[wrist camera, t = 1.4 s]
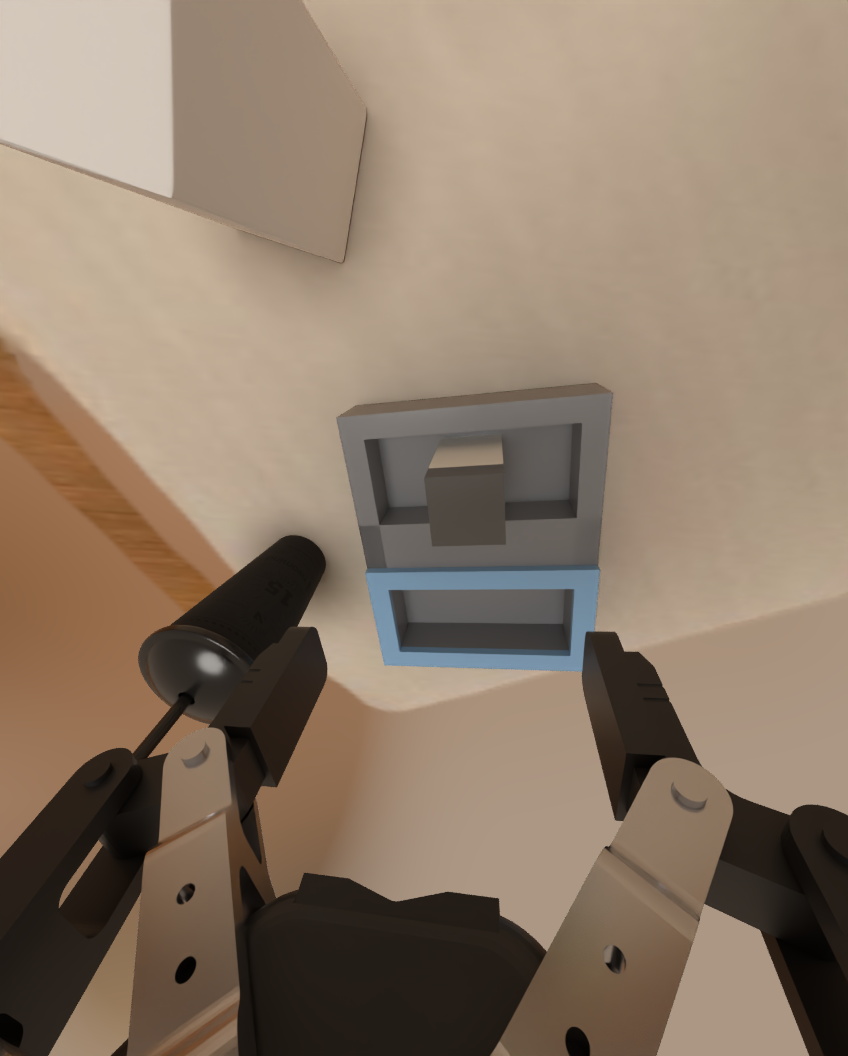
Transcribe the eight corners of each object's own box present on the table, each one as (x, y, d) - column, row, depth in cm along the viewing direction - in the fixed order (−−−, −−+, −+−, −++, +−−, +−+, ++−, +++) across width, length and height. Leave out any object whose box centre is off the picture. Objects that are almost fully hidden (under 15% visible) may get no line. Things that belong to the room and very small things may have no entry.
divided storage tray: (596, 383, 25) (615, 394, 21) (579, 630, 34) (590, 671, 30) (355, 405, 28) (332, 419, 24) (396, 627, 37) (384, 665, 33)
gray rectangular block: (501, 433, 27) (504, 473, 20) (502, 489, 29) (506, 544, 22) (441, 438, 28) (424, 478, 21) (446, 492, 29) (432, 546, 22)
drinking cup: (319, 609, 38) (166, 861, 20) (246, 566, 37) (17, 792, 19) (356, 552, 34) (210, 799, 17) (277, 503, 33) (31, 710, 16)
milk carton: (368, 110, 21) (-88, -663, 5) (344, 264, 25) (31, 145, 8) (241, 68, 21) (-678, -855, 5) (234, 228, 25) (-310, 32, 8)
